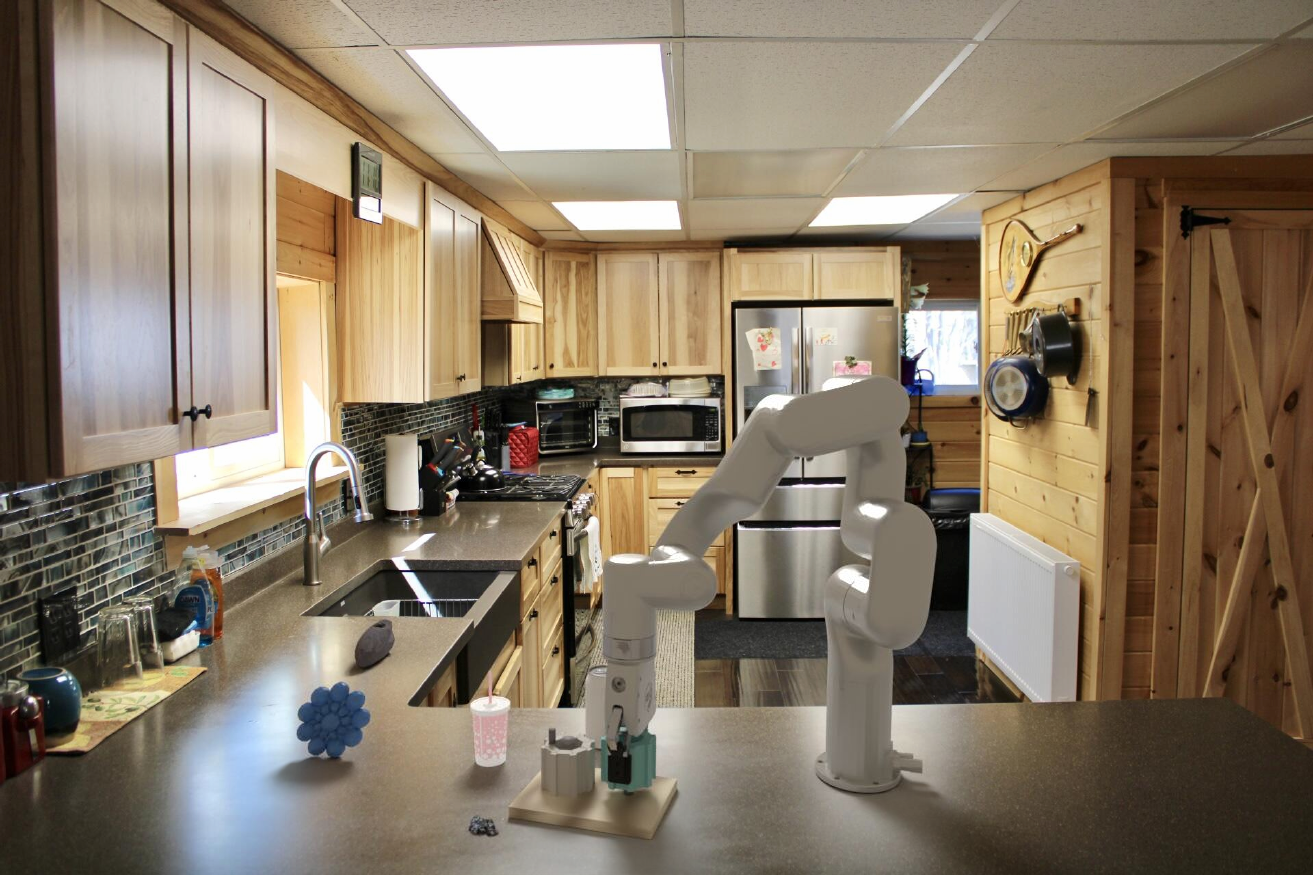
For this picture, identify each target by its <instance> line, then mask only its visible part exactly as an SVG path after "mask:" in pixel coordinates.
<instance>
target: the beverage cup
mask: <svg viewBox="0 0 1313 875" xmlns="http://www.w3.org/2000/svg"><path fill="white" fill-rule="evenodd" d="M492 678H493V671H490V670H489V671H488V696H483V697H480V698H479V697H478V698H477V699H475V700H473V701H472V702H470V704H469V705H470V706H469V707H470V713H471V714H472V727H473V728H472V729H473V740H474V742H473V743H474V753H475V754H474V756H475V763H476V764H477V765H478V766H480V767H486V768H489V767H490V768H491V767H496V766H497V767H498V766H500V765H502V764H504V763H505V762H506V758H507V741H508V740H507V739H508V725H509V724H508V723H509V711H510V710H511V700H509V699H508V698H507V697H503V696H497V695H495V696H493V691H492V690H493V684H492V682H493V680H492Z"/></svg>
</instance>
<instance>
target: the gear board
mask: <svg viewBox="0 0 1313 875" xmlns="http://www.w3.org/2000/svg"><path fill="white" fill-rule="evenodd" d="M677 790H678V778H673V777H667V776H659V775H656V779H652V786H651V787H649V788H646V787H643V788H639V789H636V790H634V792H628V791H627V790H621V789H614V790H611V789H609V788H608V784H607V783H606V782H601V767H595V783H593V790H591V791H590V792H583V793H580V794H578V795H577V797H573V798H570V796H559V795H558V796H556V797H554V796H550V792H549V791H548V790H546V789H545V790H542V788H541V769H540V770H539V772H538V773H537V774H536V775H535V776H534V777H533V778H532V779H531V781H529V783H528V784H527V785H526V786H525V787H524V788H523V790H522V791H521V792H520V793H519V794H518V795H517V796H516V798H515V799H513V801H512V802H511V803H510V804H509V806H508V807H507V808H508V818H509V819H517V820H523V821H530V822H536V823H542V824H549V825H554V826H562V827H568V828H573V829H580V830H588V831H592V832H593V831H594V832H600V833H605V834H606V833H607V834H613V835H619V836H625V837H631V838H638V839H645V840H652V839H653V836H654V835H655V833H656V831H657V830H658V827H659V825H660V823H661V822H662V819H663V817H664V815H665V813H666V811H667V809H668V807H669V806H670V804H671V802H672V800H673V798H674V796H675V793H676V792H677Z"/></svg>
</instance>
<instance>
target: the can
mask: <svg viewBox="0 0 1313 875" xmlns="http://www.w3.org/2000/svg"><path fill="white" fill-rule="evenodd" d="M606 671H607V664H597V665H593V666H592V667H590V668H589V669H588V670H587V672H588V674H587V676H586V678H585V689H584V690H585V693H584V694H585V697H584V698H585V703H584V704H585V708H584V709H585V713H584V714H585V715H584V716H585V718H584V722H585V723H584V724H585V726H584V727H585V737H586V738H588V739H590V740H592V739H594V741H595V748H596V749H595V750H599V749H601V737H605V736H606V730H605V722H604V704H605V684H606ZM620 728H623V727H620Z"/></svg>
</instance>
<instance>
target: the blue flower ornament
mask: <svg viewBox="0 0 1313 875" xmlns="http://www.w3.org/2000/svg"><path fill="white" fill-rule="evenodd" d="M365 703H366V695H365V692H363V691H361V690H353V691H351V692H350V686H349V684H348V683H346V682H345V681H344V682H343V681H339V682H337V683H335V684H333V685H332V687H331V688H330V689H329V688H328V687H326V686H318V687H317V688H315V689H314V690H313V691H312V693H311V695H310V701H307V702H305V703H303V704H302V705H301V706H300V707H299V708H298V710H297V718H298V721H300V722H302V723H301V724H299V726H298V727H297V729H296V737H297V739H298V740H299V741H300V742H304V743H305V742H308V741H309V742H308V743H307V752H308V754H310V755H312V756H320V755H322V754H323V753H325V752H326V755H327V756H328V757H330V758H333V759H336V758H338V757H340V756H341V755H343V754H344V752H345V751H346V747H348V748H354V747H356V746H358V745H359V744H360V743H361V742H362V741H363V737H364V733H363V731H362V730H363V728H364V727H366V726H367V725H368V724H369V723H370V721H371V713H370V710H368V709H367V708H363V706H364V705H365Z"/></svg>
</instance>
